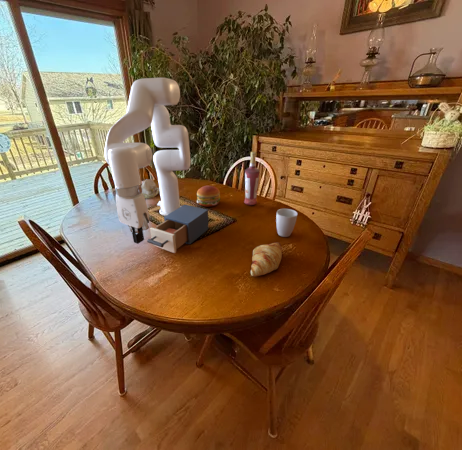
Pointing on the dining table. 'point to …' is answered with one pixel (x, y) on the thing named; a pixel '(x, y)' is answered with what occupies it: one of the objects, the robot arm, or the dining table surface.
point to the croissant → (266, 258)
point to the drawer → (169, 235)
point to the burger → (208, 196)
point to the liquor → (251, 182)
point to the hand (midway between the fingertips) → (139, 241)
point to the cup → (285, 221)
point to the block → (170, 230)
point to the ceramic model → (149, 189)
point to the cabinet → (191, 220)
